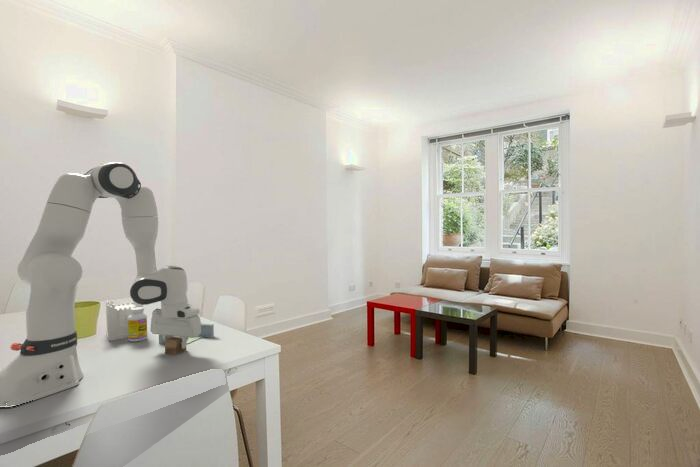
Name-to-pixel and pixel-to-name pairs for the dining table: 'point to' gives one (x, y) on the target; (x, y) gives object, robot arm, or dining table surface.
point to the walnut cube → (173, 345)
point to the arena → (206, 331)
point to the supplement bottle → (137, 325)
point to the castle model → (118, 319)
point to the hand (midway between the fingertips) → (175, 347)
